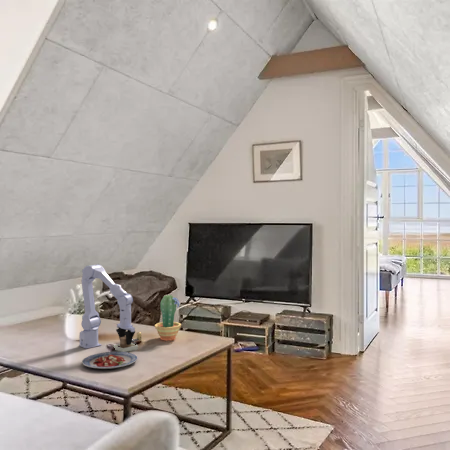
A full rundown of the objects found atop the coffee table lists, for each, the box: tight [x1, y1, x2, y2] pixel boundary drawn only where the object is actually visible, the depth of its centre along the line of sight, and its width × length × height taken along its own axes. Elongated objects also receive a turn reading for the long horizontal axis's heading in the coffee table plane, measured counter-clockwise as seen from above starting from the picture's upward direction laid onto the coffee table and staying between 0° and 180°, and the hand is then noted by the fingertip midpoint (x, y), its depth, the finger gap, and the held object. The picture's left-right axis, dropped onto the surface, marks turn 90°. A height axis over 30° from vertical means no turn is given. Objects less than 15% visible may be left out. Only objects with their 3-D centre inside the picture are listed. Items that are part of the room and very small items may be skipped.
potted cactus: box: [154, 294, 182, 342], centre depth 273 cm, size 15×15×25 cm
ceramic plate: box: [81, 351, 138, 370], centre depth 227 cm, size 26×26×3 cm
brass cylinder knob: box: [132, 331, 142, 342], centre depth 263 cm, size 8×3×4 cm, turn 135°
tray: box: [112, 343, 139, 353], centre depth 250 cm, size 9×9×2 cm
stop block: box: [119, 336, 131, 348], centre depth 250 cm, size 4×4×6 cm
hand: (125, 343), depth 250 cm, fingers open, 6 cm apart
